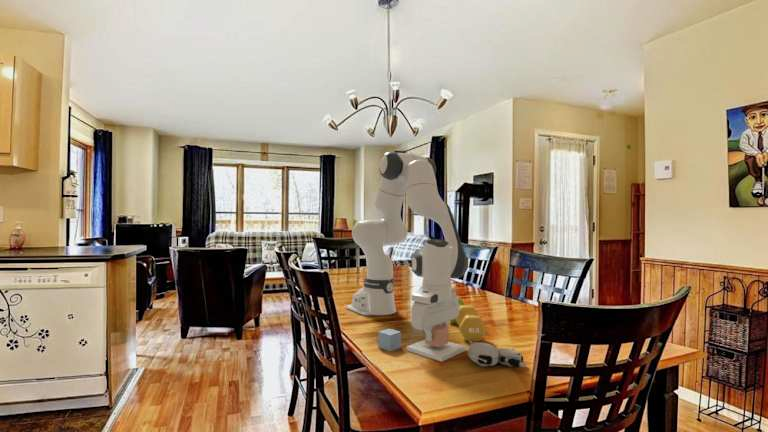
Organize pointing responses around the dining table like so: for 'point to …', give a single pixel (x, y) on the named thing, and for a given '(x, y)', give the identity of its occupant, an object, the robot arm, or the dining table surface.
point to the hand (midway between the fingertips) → (436, 338)
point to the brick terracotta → (438, 336)
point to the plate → (436, 350)
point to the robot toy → (494, 355)
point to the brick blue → (389, 339)
